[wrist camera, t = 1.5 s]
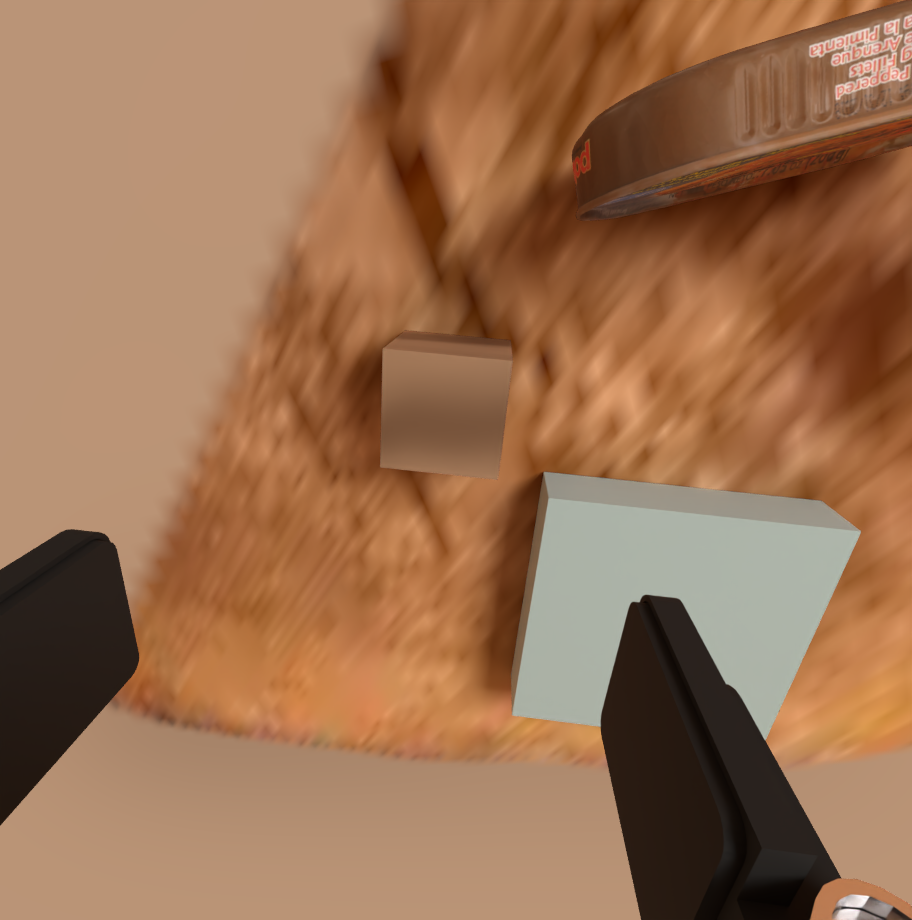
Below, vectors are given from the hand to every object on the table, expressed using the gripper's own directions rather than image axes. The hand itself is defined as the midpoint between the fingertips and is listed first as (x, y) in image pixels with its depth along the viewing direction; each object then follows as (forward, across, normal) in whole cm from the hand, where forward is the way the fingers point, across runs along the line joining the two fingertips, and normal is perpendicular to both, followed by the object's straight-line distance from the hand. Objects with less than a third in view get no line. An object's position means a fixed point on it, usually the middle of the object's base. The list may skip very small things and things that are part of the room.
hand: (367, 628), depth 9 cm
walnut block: (+17, 0, 0) cm, 17 cm away
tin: (+17, -11, -12) cm, 23 cm away
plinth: (+17, -12, +11) cm, 23 cm away
